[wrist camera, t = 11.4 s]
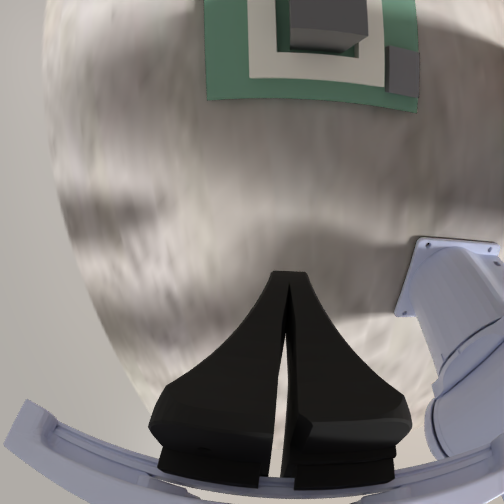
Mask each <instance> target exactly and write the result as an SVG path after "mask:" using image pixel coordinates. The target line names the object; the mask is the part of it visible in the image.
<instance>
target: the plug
mask: <svg viewBox="0 0 504 504" xmlns="http://www.w3.org/2000/svg"><path fill="white" fill-rule="evenodd" d="M289 26H290V49H292V50H311V51H323V52H334V53H343V52H344V51H346V50H347V49H349V48H350V47H352V46H354V45H355V44H357V43H358V42H360V41H361V40H363V39H365V38H366V37H368V15H367V0H289Z"/></svg>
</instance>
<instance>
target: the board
mask: <svg viewBox="0 0 504 504" xmlns="http://www.w3.org/2000/svg"><path fill="white" fill-rule="evenodd" d="M367 15H368V37H366V38H365V39H363V40H361V41H360V42H358V43H357V44H355V45H354V46H352V47H350V48H349V49H347V50H346V51H344V52H343V53H334V52H323V51H311V50H292V49H290V26H289V0H204V32H205V65H206V89H207V100H222V99H244V98H290V99H312V100H327V101H338V102H348V103H357V104H364V105H372V106H379V107H385V108H391V109H397V110H402V111H407V112H412V113H417V104H418V98H419V82H420V53H418V31H417V17H416V7H415V0H367Z"/></svg>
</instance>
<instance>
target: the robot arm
mask: <svg viewBox="0 0 504 504" xmlns="http://www.w3.org/2000/svg"><path fill="white" fill-rule="evenodd" d="M427 243H429V245H427V246H426V244H427ZM489 247H490V248H489ZM488 248H489V249H488ZM499 251H500V246H499V244H497V243H489V242H477V241H466V240H453V239H441V238H427V237H421V238H419V239H418V240H417V242H416V246H415V249H414V253H413V256H412V260H411V263H410V266H409V269H408V273H407V276H406V279H405V282H404V285H403V288H402V291H401V294H400V296H399V299H398V302H397V305H396V307H395V310H394V314H395V316H396V317H417V319H418V321H419V324H420V326H421V329H422V331H423V334H424V337H425V339H426V342H427V345H428V348H429V350H430V353H431V356H432V359H433V362H434V365H435V368H436V371H437V374H438V377H439V378H438V379H437V380H436V381H435V382H434V383H433V384H432V389H433V392H434V396H435V398H433V399H432V400H431V401H430V403H429V404H428V406H427V409H426V412H425V422H424V424H425V425H424V427H425V436H426V441H427V444H428V447H429V449H430V451H431V452H432V454H433V456H434V457H435V458H436V459H437V460H438V461H434V462H430V463H426V464H422V465H418V466H413V467H408V468H403V469H398V470H394V462H393V458H395V457H396V445H397V444H398V443H399V442H400V441H401V440H402V439H403V438H404V437H405V436H406V435H407V434H408V433H409V432H410V430H411V429H412V420H411V414H410V411H409V408H408V405H407V402H406V400H405V397H404V395H403V394H401V393H400V392H399V391H397V390H396V389H395V388H393V387H392V386H391V385H389V384H388V383H387V382H385V381H384V380H383V379H382V378H381V377H379V376H378V375H377V374H376V373H375V372H374V371H373V370H372V369H371V368H370V367H369V366H368V365H367V364H366V363H365V362H364V361H363V360H362V359H361V358H360V357H359V356H358V355H357V354H356V353H355V352H354V351H353V349H352V348H351V347H350V346H349V345H348V343H347V342H346V341H345V340H344V338H343V337H342V336H341V335H340V333H339V332H338V330H337V329H336V328H335V326H334V325H333V323H332V322H331V320H330V318H329V317H328V315H327V314H326V312H325V310H324V309H323V307H322V305H321V303H320V301H319V300H318V298H317V296H316V294H315V292H314V290H313V287H312V285H311V283H310V280H309V277H308V275H307V273H306V272H292V271H273V272H271V274H270V277H269V280H268V282H267V284H266V286H265V288H264V290H263V292H262V294H261V295H260V297H259V299H258V300H257V302H256V304H255V305H254V307H253V308H252V309H251V311H250V312H249V314H248V315H247V316H246V318H245V319H244V320H243V322H242V323H241V324H240V325H239V327H238V328H237V329H236V330H235V331H234V332H233V333H232V335H231V336H230V337H229V338H228V339H227V340H226V341H225V342H224V343H223V344H222V345H221V346H220V347H219V348H217V349H216V350H215V351H214V352H213V353H212V354H211V355H209V356H208V357H207V358H206V359H204V360H203V361H202V362H201V363H199V364H198V365H197V366H196V367H194V368H193V369H191V370H190V371H189V372H187V373H186V374H184V375H182V376H181V377H179V378H178V379H176V380H175V381H173V382H171V383H170V384H168V385H166V387H165V388H164V390H163V392H162V393H161V395H160V397H159V399H158V401H157V403H156V405H155V407H154V410H153V413H152V416H151V419H150V422H149V426H148V428H149V430H150V431H151V433H152V434H153V436H154V437H155V438H156V439H157V440H158V442H159V443H160V444H161V445H162V446H163V448H162V451H161V455H160V458H159V459H157V458H153V457H150V456H147V455H143V454H140V453H136V452H133V451H130V450H127V449H124V448H121V447H118V446H116V445H113V444H110V443H107V442H105V441H102V440H100V439H97V438H95V437H93V436H90V435H88V434H85V433H83V432H81V431H79V430H76V429H74V428H72V427H70V426H68V425H66V424H64V423H62V422H60V421H58V420H57V419H56V418H55V416H54V415H52V414H51V413H50V412H49V411H47V410H46V409H44V408H43V407H41V406H39V405H37V404H35V403H33V402H32V401H30V400H28V399H26V400H25V402H24V404H23V406H22V408H21V410H20V411H19V413H18V415H17V417H16V419H15V421H14V423H13V425H12V427H11V429H10V431H9V433H8V435H7V437H6V439H5V442H4V446H5V447H6V448H7V449H8V450H10V451H11V452H12V453H13V454H15V455H16V456H17V457H19V458H20V459H21V460H23V461H24V462H25V463H27V464H28V465H29V466H31V467H32V468H34V469H35V470H36V471H38V472H39V473H41V474H42V475H44V476H45V477H47V478H48V479H50V480H51V481H53V482H54V483H56V484H57V485H59V486H61V487H63V488H64V489H66V490H67V491H69V492H71V493H72V494H74V495H76V496H78V497H79V498H81V499H83V500H85V501H87V502H89V503H90V504H229V503H221V502H214V501H207V500H201V499H200V498H199V497H197V496H195V495H192V494H190V493H188V492H187V490H186V489H185V488H182V487H179V486H176V485H173V484H170V483H174V484H179V485H182V486H187V487H191V488H196V489H201V490H207V491H212V492H218V493H225V494H232V495H241V496H250V497H262V498H279V499H280V498H281V499H317V498H318V499H319V498H336V497H349V496H357V495H366V494H372V495H368V496H364V497H362V498H361V500H359V501H357V502H354V503H351V504H486V503H488V502H490V501H491V500H493V499H495V498H497V497H499V496H500V495H501V496H502V498H503V500H504V263H503V262H502V260H501V259H500V258H499V257H498V254H499ZM404 311H405V312H404ZM285 333H286V347H287V367H288V396H287V411H286V423H285V435H284V446H283V456H282V465H281V474H280V478H278V477H268V474H269V467H270V459H271V451H272V443H273V434H274V424H275V412H276V399H277V386H278V375H279V369H280V364H281V358H282V352H283V346H284V340H285ZM158 479H159V480H158ZM161 480H163V481H161ZM164 481H166V482H164ZM167 482H170V483H167ZM379 492H381V493H379ZM373 493H377V494H373Z"/></svg>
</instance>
